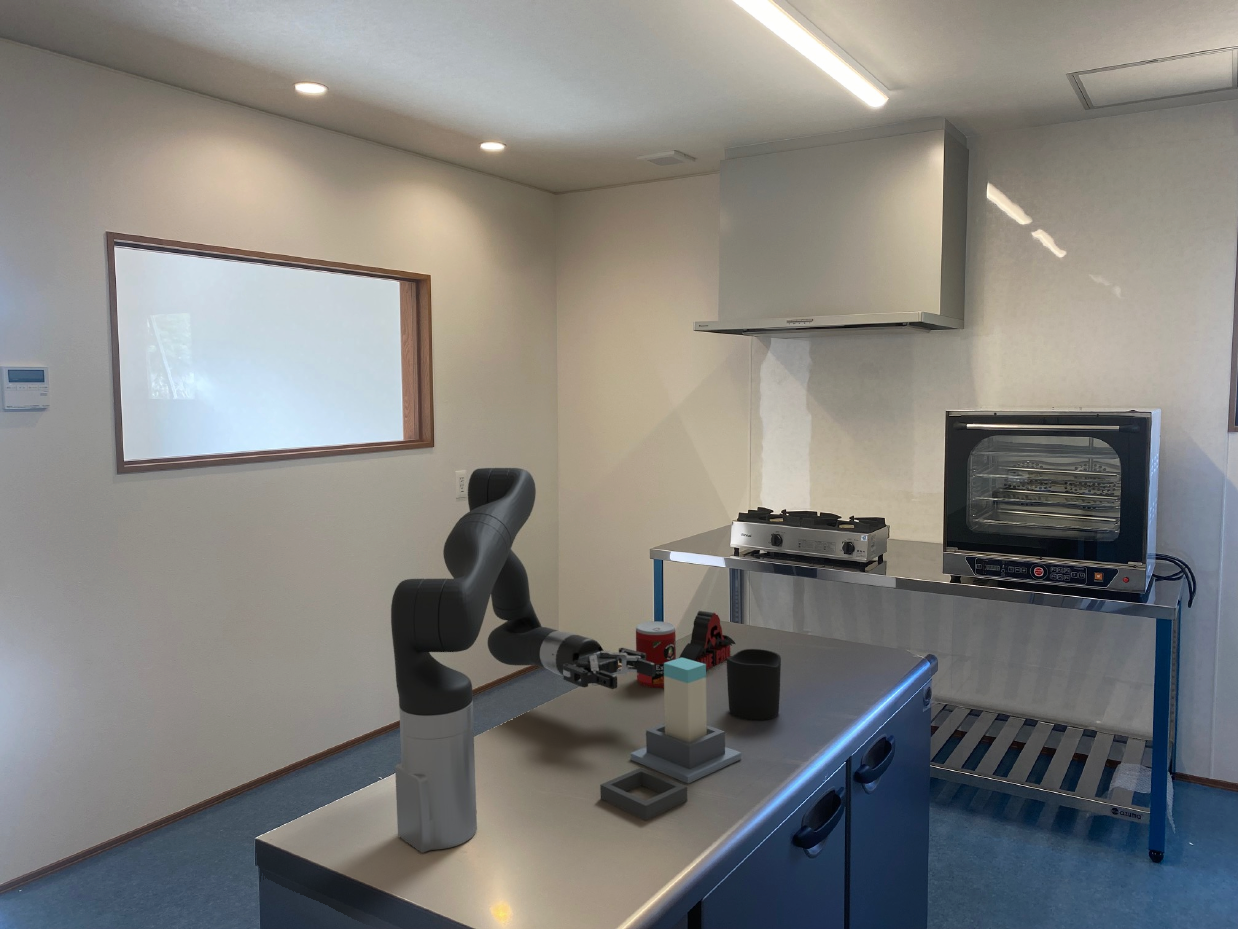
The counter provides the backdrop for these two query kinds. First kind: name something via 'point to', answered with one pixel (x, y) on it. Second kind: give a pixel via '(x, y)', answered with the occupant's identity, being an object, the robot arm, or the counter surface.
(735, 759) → the port
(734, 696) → the pen holder
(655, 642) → the canned food
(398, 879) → the counter surface
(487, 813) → the counter surface
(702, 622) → the logo sign
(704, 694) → the plug
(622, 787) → the gray square frame
